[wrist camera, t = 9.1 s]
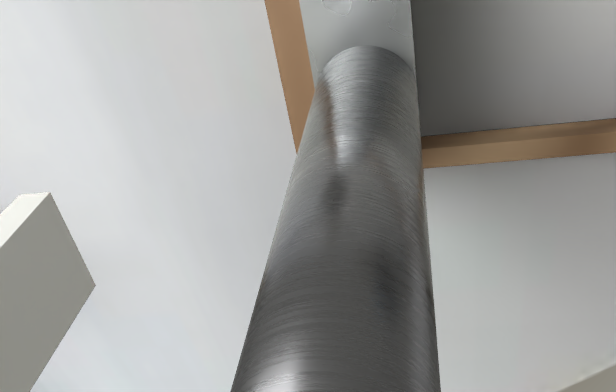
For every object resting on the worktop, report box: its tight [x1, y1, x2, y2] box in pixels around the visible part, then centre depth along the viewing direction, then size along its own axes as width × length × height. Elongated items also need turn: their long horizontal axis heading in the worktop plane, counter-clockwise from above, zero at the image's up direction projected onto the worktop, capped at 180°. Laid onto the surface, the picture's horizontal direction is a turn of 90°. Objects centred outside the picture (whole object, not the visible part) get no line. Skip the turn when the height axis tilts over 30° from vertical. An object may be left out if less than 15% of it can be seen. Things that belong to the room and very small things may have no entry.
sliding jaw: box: [231, 0, 441, 392], centre depth 15 cm, size 3×10×22 cm, turn 10°
